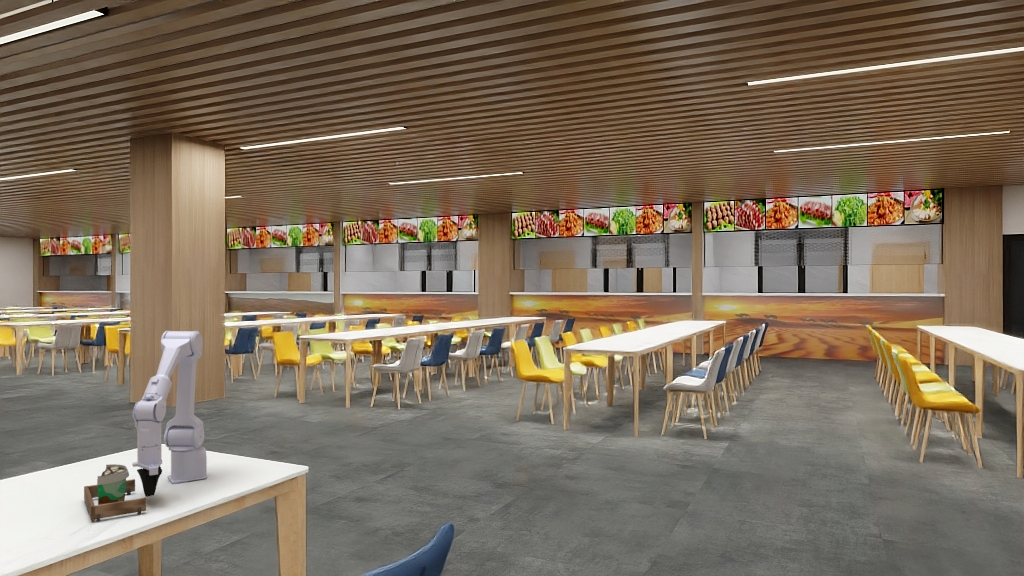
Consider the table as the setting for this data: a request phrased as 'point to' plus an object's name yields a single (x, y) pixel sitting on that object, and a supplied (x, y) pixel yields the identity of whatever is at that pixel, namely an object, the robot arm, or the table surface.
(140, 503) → the wooden u-shaped frame
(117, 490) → the food container
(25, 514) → the table surface
